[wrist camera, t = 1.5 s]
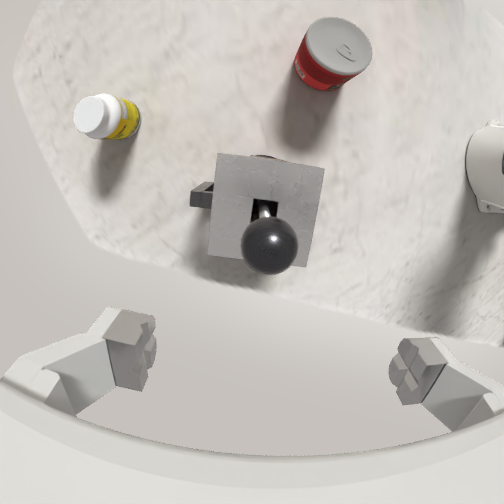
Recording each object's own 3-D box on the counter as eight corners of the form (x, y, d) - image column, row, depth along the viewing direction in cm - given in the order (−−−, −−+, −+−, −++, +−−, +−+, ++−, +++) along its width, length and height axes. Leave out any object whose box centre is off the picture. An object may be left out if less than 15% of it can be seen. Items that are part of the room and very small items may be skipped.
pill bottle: (111, 145, 38) (72, 146, 28) (104, 109, 36) (65, 102, 26) (146, 132, 38) (112, 128, 28) (138, 95, 36) (104, 82, 25)
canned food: (332, 101, 36) (358, 86, 26) (284, 74, 35) (294, 50, 25) (353, 63, 34) (382, 41, 24) (306, 37, 33) (322, 5, 22)
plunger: (297, 177, 31) (341, 206, 15) (287, 235, 33) (316, 313, 17) (236, 168, 31) (216, 187, 15) (229, 227, 33) (206, 301, 17)
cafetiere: (301, 161, 39) (327, 167, 25) (290, 229, 43) (307, 269, 29) (212, 149, 39) (190, 148, 25) (205, 218, 42) (181, 253, 29)
